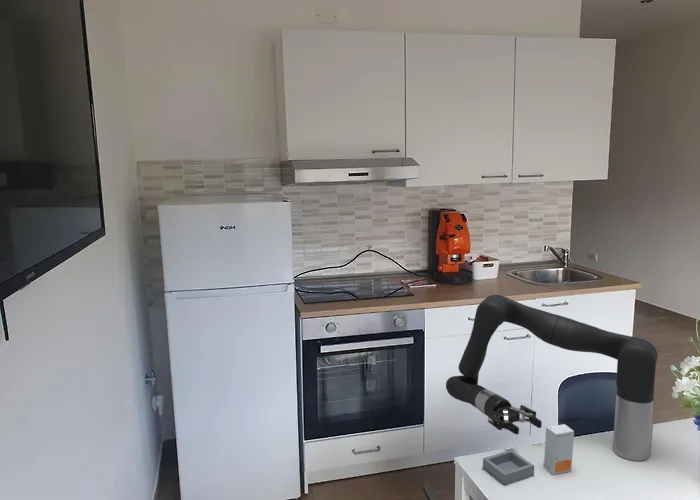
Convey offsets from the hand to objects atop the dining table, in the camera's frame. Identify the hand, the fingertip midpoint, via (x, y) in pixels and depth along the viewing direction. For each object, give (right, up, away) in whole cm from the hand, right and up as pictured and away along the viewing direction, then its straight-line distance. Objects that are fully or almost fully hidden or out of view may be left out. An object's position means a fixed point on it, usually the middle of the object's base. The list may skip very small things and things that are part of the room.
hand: (529, 428), depth 152 cm
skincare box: (+5, -9, -9) cm, 13 cm away
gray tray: (-9, -9, -10) cm, 16 cm away
